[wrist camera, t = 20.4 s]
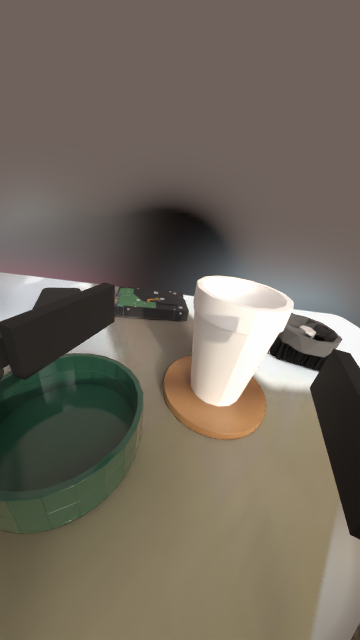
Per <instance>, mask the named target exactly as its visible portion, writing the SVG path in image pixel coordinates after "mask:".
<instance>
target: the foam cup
mask: <svg viewBox="0 0 360 640" xmlns="http://www.w3.org/2000/svg"><path fill="white" fill-rule="evenodd" d="M194 310H195V314H194V331H193V347H192V364H191V388H192V390H193V391H194V393H195V395H196V396H197V397H199V398H200V399H201V400H203V401H204V402H206V403H208V404H211V405H215V406H230V405H231V404H233V403H234V402H236V401H237V399H238V398H239V397H240V395H241V394H242V392H243V390H244V389H245V387H246V386H247V384H248V382H249V381H250V379H251V378H252V376H253V374H254V373H255V371H256V370H257V368H258V366H259V365H260V363H261V362H262V360H263V358H264V357H265V355H266V354H267V352H268V350H269V349H270V347H271V346H272V344H273V342H274V341H275V339H276V338H277V336H278V334H279V333H280V332H282V331H284V328H285V326H286V324H287V322H288V319H289V317H290V315H291V312H292V310H293V301H292V300H291V299H290V298H289V297H288V296H286V295H285V294H284V293H281V292H279V291H278V290H275V289H273V288H271V287H269V286H266V285H263V284H260V283H256V282H254V281H250V280H245V279H241V278H236V277H227V276H208V277H203V278H201V279H199V280H198V281H197V286H196V291H195V296H194Z"/></svg>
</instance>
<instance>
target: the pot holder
mask: <svg viewBox="0 0 360 640" xmlns="http://www.w3.org/2000/svg"><path fill="white" fill-rule="evenodd" d="M191 364H192V355H189V356H185V357H182V358H180V359H178V360H177V361H175V362H174V363H173V364H171V366H170V367H169V368H168V370H167V371H166V374H165V377H164V383H163V393H164V398H165V401H166V403H167V405H168V407H169V409H170V410H171V411H172V413H173V414H174V415H175V416H176V417H177V419H178V420H179V421H181V422H182V423H183V424H184V425H186V426H187V427H189V428H190V429H192V430H194V431H195V432H197V433H199V434H202V435H205V436H208V437H212V438H216V439H237V438H241V437H244V436H246V435H248V434H250V433H252V432H253V431H254V430H256V428H257V427H258V426H259V425H260V423H261V421H262V419H263V417H264V415H265V411H266V400H265V396H264V393H263V391H262V389H261V387H260V385H259V384H258V382H257V381H256V380H255V379H254V378H253V376H252V378H251V379H250V381H249V382H248V384H247V386H246V387H245V389H244V390H243V392H242V394H241V395H240V397H239V398H238V399H237V401H236V402H234V403H233V404H231V405H230V406H215V405H211V404H208V403H206V402H204V401H203V400H201V399H200V398H199V397H197V396H196V395H195V393H194V391H193V390H192V388H191Z"/></svg>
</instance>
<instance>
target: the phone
mask: <svg viewBox="0 0 360 640" xmlns="http://www.w3.org/2000/svg"><path fill="white" fill-rule="evenodd" d="M78 292H81V290H80V289H78V288H44V289H43V290H42V292H41V294H40V296H39V298H38V300H37V302H36V303H35V305H34V307H33V309H36V308H38V307H41V306H44V305H46V304H49V303H52V302H54V301H57V300H60V299H62V298H65V297H68V296H70V295H73V294H76V293H78ZM33 309H32V310H33Z"/></svg>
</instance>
